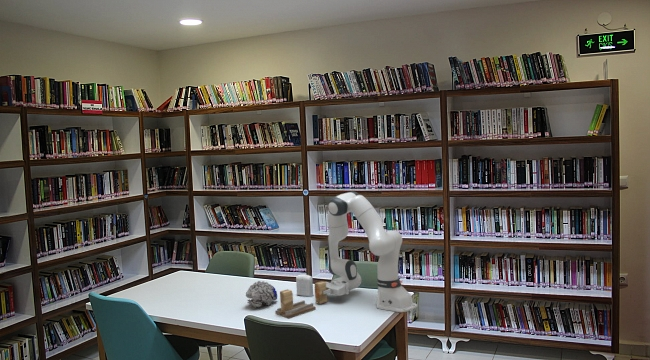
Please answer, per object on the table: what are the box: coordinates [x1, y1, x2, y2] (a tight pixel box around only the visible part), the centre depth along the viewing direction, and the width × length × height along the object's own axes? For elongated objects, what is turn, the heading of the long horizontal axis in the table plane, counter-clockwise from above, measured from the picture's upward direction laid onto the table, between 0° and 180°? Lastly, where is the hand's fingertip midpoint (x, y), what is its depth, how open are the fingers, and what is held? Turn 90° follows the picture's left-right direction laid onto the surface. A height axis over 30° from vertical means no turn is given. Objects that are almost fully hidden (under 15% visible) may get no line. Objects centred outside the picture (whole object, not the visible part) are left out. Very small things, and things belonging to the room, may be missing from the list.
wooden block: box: [313, 280, 328, 305], centre depth 289 cm, size 4×6×11 cm
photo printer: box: [295, 273, 314, 298], centre depth 306 cm, size 10×4×12 cm, turn 60°
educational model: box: [245, 280, 278, 309], centre depth 292 cm, size 14×20×15 cm
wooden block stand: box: [274, 288, 317, 319], centre depth 278 cm, size 12×18×12 cm, turn 131°
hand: (319, 291), depth 289 cm, fingers closed on wooden block, 4 cm apart
